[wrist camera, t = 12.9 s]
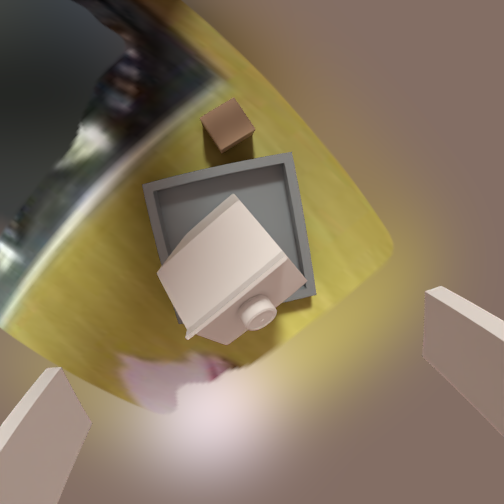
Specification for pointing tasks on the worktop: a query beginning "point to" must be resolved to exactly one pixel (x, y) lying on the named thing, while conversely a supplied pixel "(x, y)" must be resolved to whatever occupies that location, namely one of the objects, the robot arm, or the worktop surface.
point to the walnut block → (227, 125)
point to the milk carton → (228, 275)
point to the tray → (249, 193)
